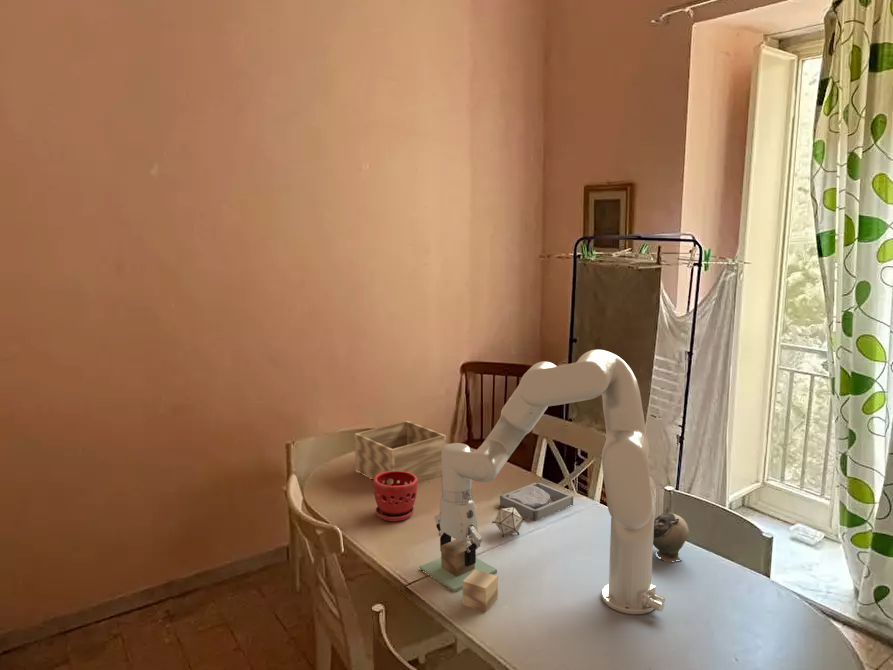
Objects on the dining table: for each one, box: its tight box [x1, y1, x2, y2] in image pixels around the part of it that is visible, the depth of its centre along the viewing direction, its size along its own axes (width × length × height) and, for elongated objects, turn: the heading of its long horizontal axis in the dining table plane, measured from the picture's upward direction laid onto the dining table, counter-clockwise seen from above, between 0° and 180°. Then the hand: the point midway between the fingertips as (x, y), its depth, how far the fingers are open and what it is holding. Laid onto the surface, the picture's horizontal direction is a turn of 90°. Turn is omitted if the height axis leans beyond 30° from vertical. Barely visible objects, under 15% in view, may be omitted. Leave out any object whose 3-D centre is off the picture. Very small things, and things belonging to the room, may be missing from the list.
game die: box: [491, 504, 527, 538], centre depth 189 cm, size 9×8×10 cm
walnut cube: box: [440, 539, 475, 577], centre depth 169 cm, size 6×6×6 cm
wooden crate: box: [354, 420, 447, 485], centre depth 235 cm, size 23×23×14 cm
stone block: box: [508, 485, 552, 509], centre depth 209 cm, size 12×5×10 cm
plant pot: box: [373, 471, 418, 522], centre depth 201 cm, size 13×13×12 cm
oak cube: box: [462, 570, 499, 613], centre depth 156 cm, size 6×6×6 cm
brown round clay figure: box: [653, 506, 690, 563], centre depth 175 cm, size 10×12×10 cm
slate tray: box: [499, 481, 574, 522], centre depth 208 cm, size 15×17×3 cm
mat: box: [419, 557, 498, 593], centre depth 170 cm, size 14×14×1 cm
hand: (457, 557), depth 169 cm, fingers open, 9 cm apart
